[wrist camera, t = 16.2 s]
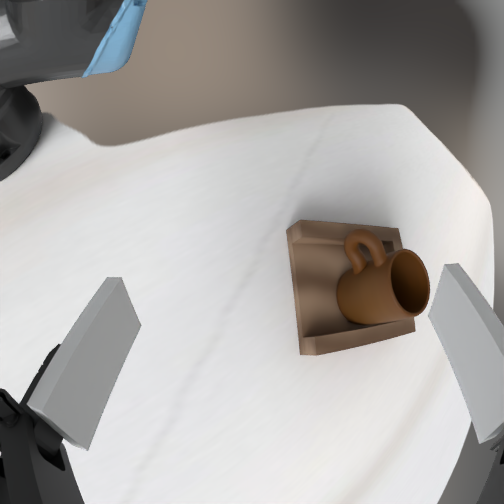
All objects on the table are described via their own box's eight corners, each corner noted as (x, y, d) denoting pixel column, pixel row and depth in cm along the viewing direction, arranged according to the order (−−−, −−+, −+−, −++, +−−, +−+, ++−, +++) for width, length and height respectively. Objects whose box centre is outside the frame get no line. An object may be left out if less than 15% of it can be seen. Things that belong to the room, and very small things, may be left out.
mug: (298, 270, 34) (348, 247, 25) (331, 231, 37) (379, 202, 29) (359, 338, 34) (416, 332, 26) (385, 295, 38) (437, 281, 29)
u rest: (286, 230, 36) (299, 219, 33) (382, 236, 42) (398, 228, 39) (300, 354, 32) (316, 355, 29) (397, 333, 38) (415, 331, 35)
